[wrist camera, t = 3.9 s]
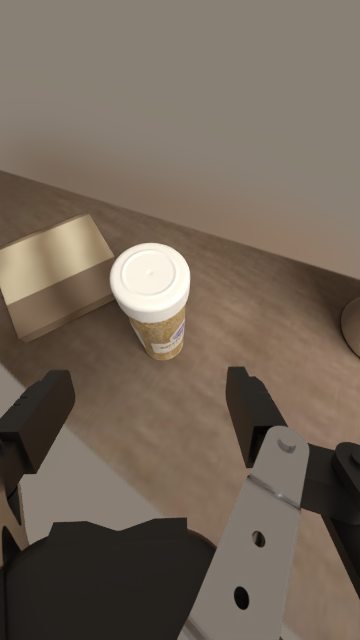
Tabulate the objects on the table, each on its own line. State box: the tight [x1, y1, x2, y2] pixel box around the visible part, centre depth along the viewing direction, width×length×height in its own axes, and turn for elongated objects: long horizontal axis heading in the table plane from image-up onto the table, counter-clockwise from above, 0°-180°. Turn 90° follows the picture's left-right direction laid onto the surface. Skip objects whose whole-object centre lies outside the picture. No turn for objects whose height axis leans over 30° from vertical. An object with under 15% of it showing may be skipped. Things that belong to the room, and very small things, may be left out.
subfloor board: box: [0, 212, 116, 343], centre depth 27 cm, size 13×13×2 cm
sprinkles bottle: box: [110, 243, 190, 360], centre depth 18 cm, size 5×5×14 cm
